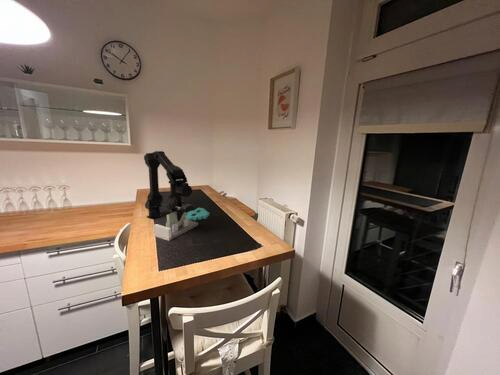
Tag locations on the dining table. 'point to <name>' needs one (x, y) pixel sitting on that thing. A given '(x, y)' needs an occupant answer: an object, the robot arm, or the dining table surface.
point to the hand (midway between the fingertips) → (177, 220)
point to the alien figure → (197, 214)
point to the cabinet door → (174, 219)
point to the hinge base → (173, 229)
